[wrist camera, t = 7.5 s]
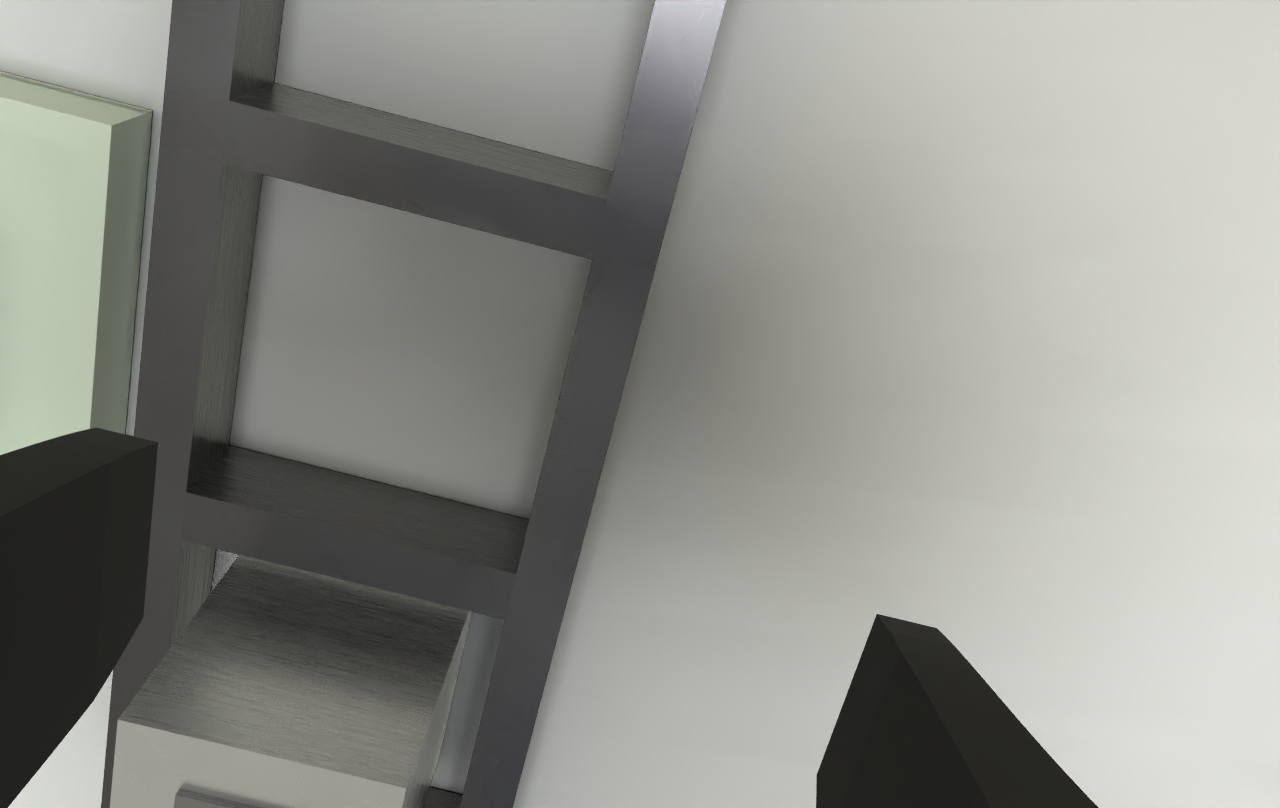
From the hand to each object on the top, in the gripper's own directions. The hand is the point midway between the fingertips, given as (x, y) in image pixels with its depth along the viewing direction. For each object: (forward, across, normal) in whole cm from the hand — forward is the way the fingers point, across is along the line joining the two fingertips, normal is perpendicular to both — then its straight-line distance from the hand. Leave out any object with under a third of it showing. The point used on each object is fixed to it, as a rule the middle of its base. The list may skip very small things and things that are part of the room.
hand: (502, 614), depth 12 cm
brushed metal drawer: (+10, +3, +9) cm, 14 cm away
